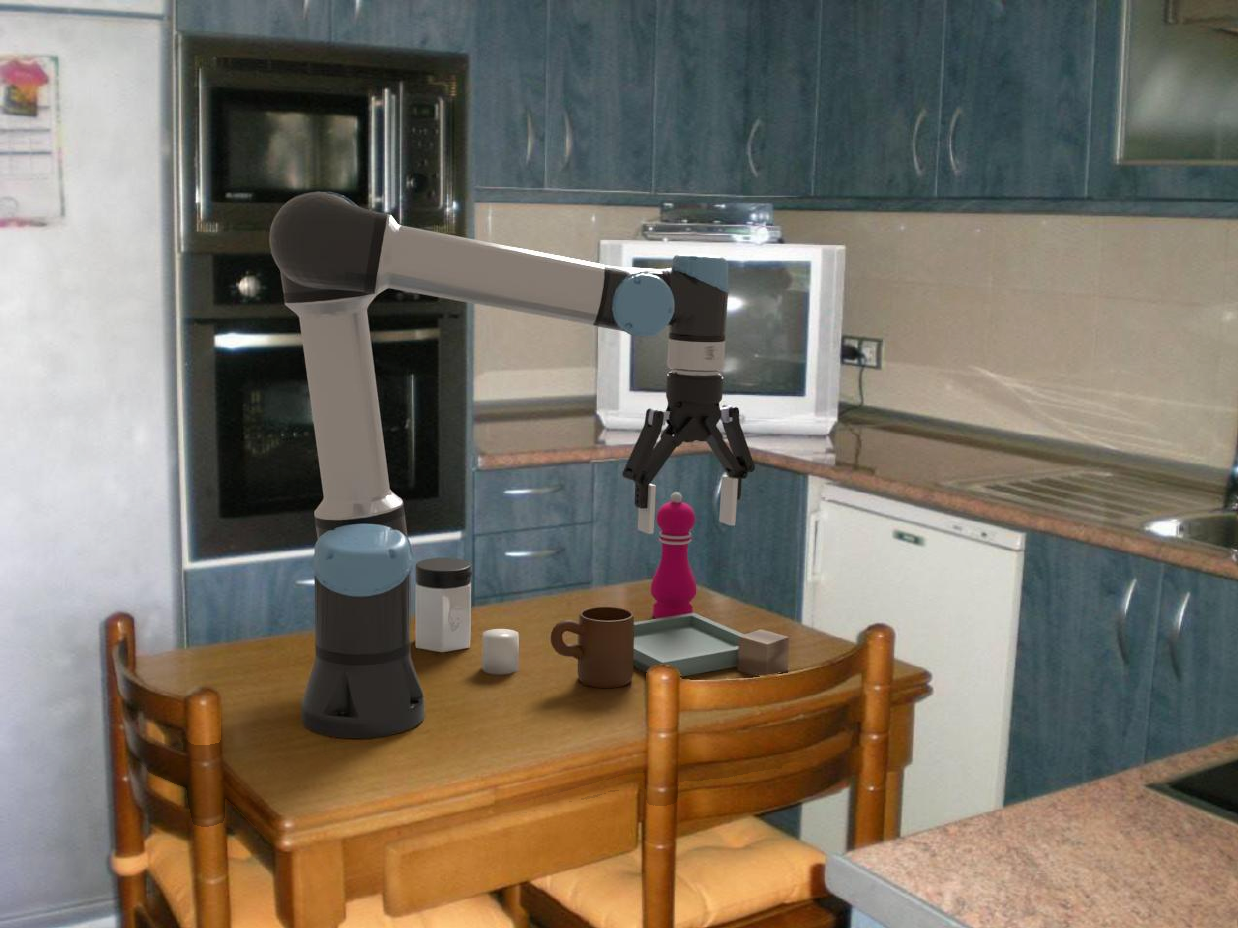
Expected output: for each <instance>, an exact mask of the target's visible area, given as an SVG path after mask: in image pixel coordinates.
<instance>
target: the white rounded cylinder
mask: <svg viewBox="0 0 1238 928" xmlns="http://www.w3.org/2000/svg"><path fill="white" fill-rule="evenodd" d="M519 635H520V634H519V632H518V631H516V630H512V629H507V628H496V629H495V628H494V629H489V630H488V629H487V630H485V631H484V632H482V643H481V644H482V646H481V647H482V648H481V649H482V650H481V651H482V654H481V655H482V657H481V660H482V661H481V663H482V666H481V667H482V668H481V669H482V671H483V672H485V673H487V674H491V675H509V674H514V673H515V672H517V671H518V670H519V652H520V651H519V649H520V648H519V646H520V645H519V641H520V640H519V639H520V638H519V637H520V636H519Z"/></svg>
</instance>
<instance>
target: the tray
mask: <svg viewBox="0 0 1238 928" xmlns="http://www.w3.org/2000/svg"><path fill="white" fill-rule="evenodd" d="M741 635H744V633H742V632H740V631H738V630H735V629H732V628H730V627H728V626H726V625H724V624H721V623H719V622H716V621H715V620H711V619H709V618H708V617H705V616H703V615H700V614H698V613H695V612H693V613H689V614H683V615H676V616H670V617H664V618H658V619H657V618H653V619H646V620H641V621H640V620H639V621H634V657H633V665H634V666H633V667H635V666H636V667H635V668H637V669H639V670H641V671H643V672H645V673H647V672H646V671H647V670H648V669H649V668H650V667H652V666H655V665H660V664H666V665H670V666H673V667H675V668H677V669H678V670H679V672H680V674H681V677H680V678H682V677H685V676H693V675H698V674H704V673H709V672H714V671H719V670H724V669H729V668H736V667H738V645H739V636H741Z"/></svg>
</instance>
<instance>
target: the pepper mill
mask: <svg viewBox="0 0 1238 928" xmlns="http://www.w3.org/2000/svg"><path fill="white" fill-rule="evenodd" d="M670 500H671V501H669V502H666V503H664V504H662V505H661V506H660V507H659V508H658V511H657V513H656V523H657V526H658V527H659V529H660V531H659V538H658V540H659V542H660V543H661V558H660V562H659V564H658V567H657V569H656V571H655V572H654V575H653V577H652V581H651V585H650V594H651V596H652V597H653V599H654V600H655V601H656V602H654V604H653V607H652V616H653V617H654V619H658V618H664V617H670V616H676V615H683V614H689V613H694V612H693V611H694V610H693V609H694V608H693V605H692V604H691V602H692V600H693V599H694V598H695V597H696V595H697V583H696V578H695V575H694V573H693V571H692V569H691V565H690V562H689V556H688V547H689V544H690V543H691V542H692V538H691V537H692V533H691V532H690V531H691V529H692V528H693V527H694V525H695V523H696V515H695V511H694V510H693V508H692V507H691V506H690V505H689V504H688V503H686V502H682V500H683V495H682V494H681V493H680V492H678V491H674V492H673V493H672V494H671V495H670Z"/></svg>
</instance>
